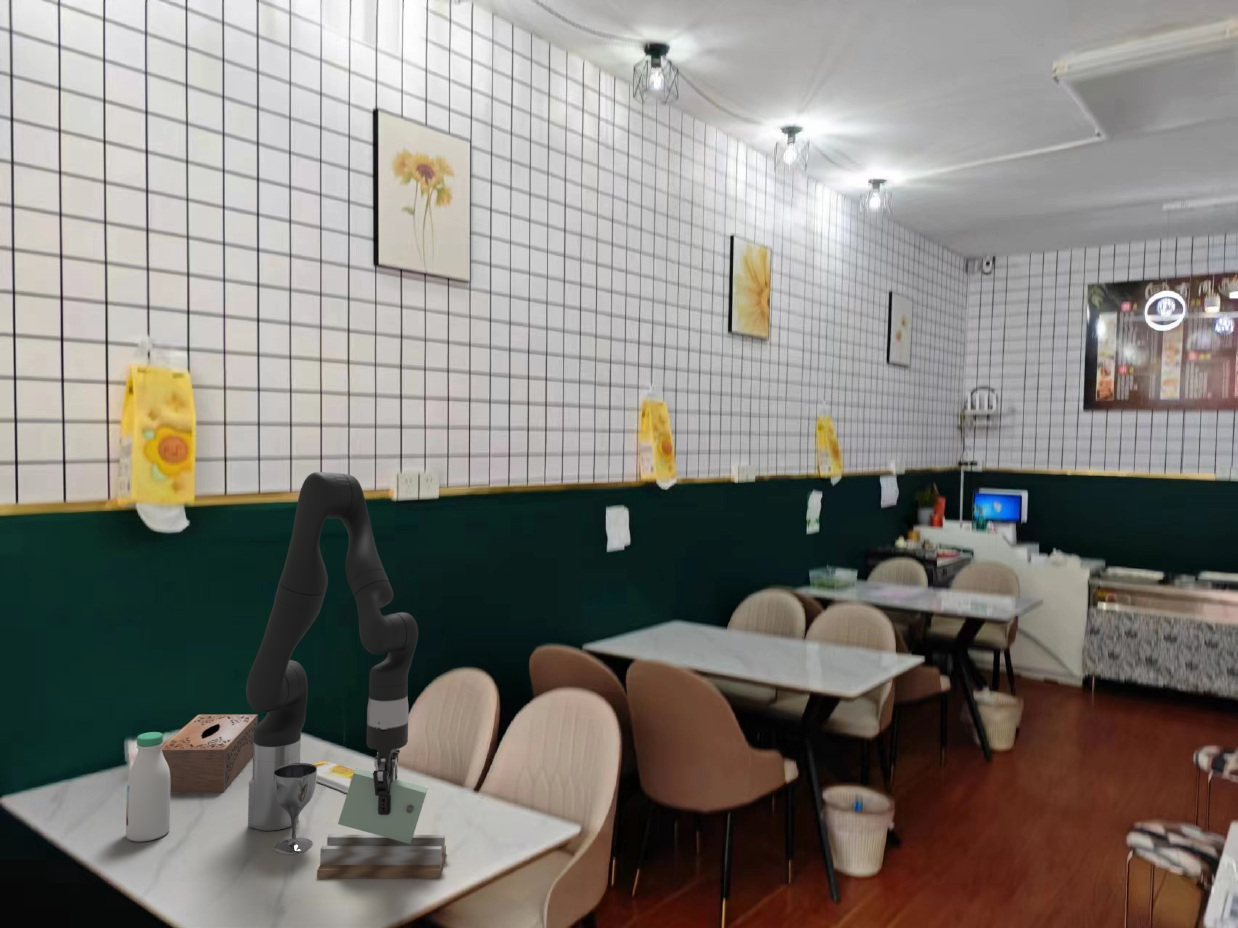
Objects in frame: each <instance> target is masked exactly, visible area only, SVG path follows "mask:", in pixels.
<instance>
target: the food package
mask: <svg viewBox="0 0 1238 928" xmlns="http://www.w3.org/2000/svg"><path fill="white" fill-rule="evenodd" d="M312 765H314V766H316V767H317V779H316V784H317V783H318V784H320V785H323V786H326V787H329V788H331V789H334V790H336V791H339V792H342V793H344V794H346V795H347V793H348V789H349V786H350V783H351V780H352V776H353V773H354V772H355V770H354V769H350V768H348V767H345V766H343V765H339V764H338V763H333V762H329V761H325V760H323V761H319V762H316V763H313V764H312Z"/></svg>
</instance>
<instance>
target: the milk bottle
mask: <svg viewBox="0 0 1238 928" xmlns="http://www.w3.org/2000/svg"><path fill="white" fill-rule="evenodd" d="M163 741H164V734H163V733H162V732H160V731H159V732H157V731H152V732H151V731H149V732H144V733H141V734H139V735H137V738H136V748H137V754H136V757H135V758H134V762H133V763H132V766H131V768H130V770H129V772H128V775H127V777H128V778H127V786H126V787H127V788H126V807H125V808H126V811H125V812H126V813H125V814H126V815H125V816H126V817H125V820H126V821H125V823H126V824H125V837H126V838H127V839H128V840H129V841H131V842H148V841H154V840H157V839H159V838H160V839H161V838H162V837H164V836H165V835H167V834H168V833H169V830H170V827H171V826H170V824H171V822H170V821H171V819H170V818H171V793H170V770H169V766H168V764H167V762H166V760H165V758H164V756H163V753H162V749H161V746H162V745H163V744H164V743H163Z"/></svg>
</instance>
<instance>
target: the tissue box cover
mask: <svg viewBox="0 0 1238 928" xmlns="http://www.w3.org/2000/svg"><path fill="white" fill-rule="evenodd" d="M258 724H259V714H253V713H252V714H197V715H195V717H193V718H192V720H190V721H189V722H188V723H186V724H185V725H184V726H183V727H182V728H180V729H179V730H178V731H177V732H176V733H175V734H174V735H173V736H171V738H169V739H168V740H167V741H166V742H164V743H163V745H162V746H161V749H162V753H163V756H164V758H165V760H166V762H167V764H168V766H169V770H170V794H197V793H198V794H200V793H203V794H205V793H206V794H207V793H214V794H215V793H225V792H226V790H227V789H228V788H229V787H230V786H231V785H232V783H233V782H234V781H235V780H236V779H237V777H238V776H239V775H240V774H241V773H242V772H243V770H244V769H245V767H246V766H247V765H248V764H249V763H250V762H251V761H252V760H253V737H254V729H255V728H256V726H257V725H258Z"/></svg>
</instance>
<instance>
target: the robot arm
mask: <svg viewBox="0 0 1238 928" xmlns="http://www.w3.org/2000/svg"><path fill="white" fill-rule="evenodd" d="M301 485H302V486H301V488H300V491H299V494H298V499H297V504H296V511H295V517H294V521H293V529H292V532H291V533H292V534H291V539H290V543H289V547H288V551H287V555H286V559H285V562H284V566H283V569H282V571H281V572H282V573H281V576H280V578H279V582H278V585H277V589H276V593H275V597H274V599H273V600H274V601H273V606H272V609H271V613H270V615H269V619H268V621H267V625H266V629H265V632H264V635H263V638H262V640H261V644H260V646H259V648H258V652H257V653H256V656H255V659H254V661H253V664H252V666H251V669H250V670H249V674H248V676H247V680H246V687H245V693H246V694H245V695H246V696H245V697H246V701H247V703H248V705H249V706H250V708H251V709H252V710H253V711H255V712H257V713H266V716H265V717H264V718H263V719H262V720H261V721H260V722H258V725H257V726H256V728H255V729H254V737H253V758H252V777H251V779H249V781H248V806H247V827H248V828H254V829H255V830H258V831H269V832H270V831H279V830H283V829H287V828H290V827H292V825H291V818H290V816H289V814H288V812H287V811H286V810H285V809H284V808H283V807H282V806H281V805H280V804H279V803H278V801H277V799H276V796H275V790H274V771H275V770H276V769H277V768H279V767H281V766H284V765H288V764H294V763H301V748H302V747H301V746H302V745H301V742H302V738H301V737H302V730H303V728H304V725H305V722H306V718H307V717H306V715H307V705H308V704H307V703H308V692H309V691H308V685H309V684H308V677H307V673H306V671H305V669H304V667H303V665H301V664H300V663H299V662H298V661H295V660H294V659H293V660H292V659H291V657H292V655H293V652H294V650H295V649H296V647H297V646H298V644H299V643H300V641H301V640H302V639H303V637H304V636H305V635H306V633H307V632H308V631H309V630H310V629H311V627H312V625H313V624H314V622H315V620H316V619H317V617H318V615H319V614H320V611H321V609H322V606H323V603H324V599H325V597H326V593H327V592H326V591H327V588H328V585H329V584H328V583H329V580H328V579H329V577H328V572H327V569H326V566H325V565H326V564H325V562H324V560H323V555H322V552H321V548H320V539H321V534H322V529H323V525H324V523H325V520H327V519H328V520H329V519H331V520H333V519H337V520H340V521H341V522H342V524H343V525H344V527H345V529H346V532H347V534H348V546H347V553H346V558H345V563H344V564H345V565H344V566H345V567H344V568H345V574H346V579H347V582H348V585H349V587H350V590H351V592H352V595H353V598H354V600H355V603H356V607H357V609H356V610H357V617H358V629H359V631H358V632H359V637H360V638H359V639H360V642H361V644H362V646H363V647H364V648H365V650H367V652H369V653H370V654H373V655H383V654H387V656H386V658H385V659H384V660H383V661H381V662H380V663H378V664H376V665H373V667H371V669H370V672H369V684H368V685H369V687H368V689H369V690H368V702H367V703H368V704H367V710H366V711H367V712H366V713H367V714H366V719H367V720H366V745H367V747H368V748H370V749H371V750H375V751H377V753H376V756H375V757H374V761H373V762H374V764H373V765H374V768H375V770H373V772H372V773H373V778H374V787H375V796H378V814H379V815H389V814H390V812H391V793H392V783H393V781H394V780H395V779H397V780H398V774H399V762H400V761H399V760H400V753H401V750H400V749H402V748H404V747H406V745H407V744H408V743H409V742H408V741H409V701H408V698H409V697H408V694H409V693H408V690H409V687H408V683H409V681H408V679H409V677H408V676H409V672H410V668H411V665H412V662H413V658H414V655H415V651H416V647H417V645H418V644H417V643H418V638H419V627H418V623H417V621H416V619H415V618H414V616H412V615H411V614H410V613H409V612H402V611H401V612H394V613H389V614H382V613H381V609H382V608H384V607H386V606H387V605H389V604H390V603H391V602H392V600H394V599H393V598H394V591H393V588H392V585H391V583H390V581H389V578H388V575H387V573H386V571H385V568H384V566H383V563H382V561H381V558H380V556H379V553H378V549H377V546H376V542H375V537H374V534H373V529H372V524H371V519H370V516H369V510H368V507H367V501H366V498H365V494H364V491H363V488H362V486H361V484H360V482H359V480H358V479H357V478H356V477H355V476H353V475H351V474H348V473H347V474H346V473H341V472H340V473H338V472H323V471H322V472H321V471H318V472H317V471H316V472H312V473H310V474H308V475H307V476H306V478H305V480H304V481H303V483H302V484H301ZM299 816H300V815H299ZM299 816H298V820H297V822H298V821H299V818H300V817H299Z"/></svg>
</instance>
